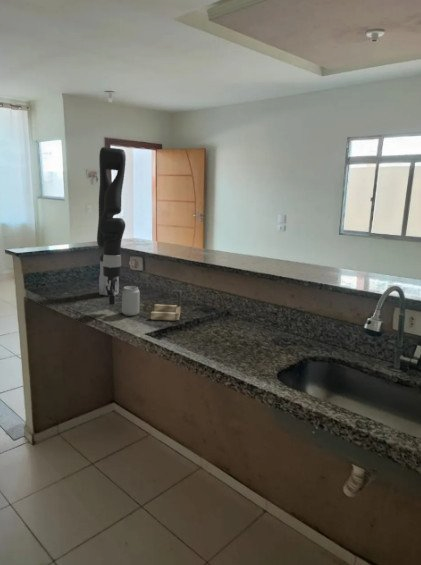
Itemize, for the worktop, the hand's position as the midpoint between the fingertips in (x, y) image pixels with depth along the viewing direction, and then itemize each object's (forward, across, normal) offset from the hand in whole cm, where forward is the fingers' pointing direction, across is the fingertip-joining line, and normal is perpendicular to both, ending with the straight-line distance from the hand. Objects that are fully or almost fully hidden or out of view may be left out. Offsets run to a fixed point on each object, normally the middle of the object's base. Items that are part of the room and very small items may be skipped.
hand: (112, 304), depth 175 cm
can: (+4, 0, +8) cm, 9 cm away
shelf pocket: (+4, 0, +24) cm, 24 cm away
